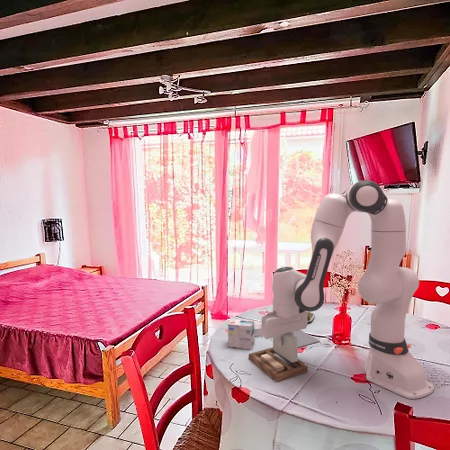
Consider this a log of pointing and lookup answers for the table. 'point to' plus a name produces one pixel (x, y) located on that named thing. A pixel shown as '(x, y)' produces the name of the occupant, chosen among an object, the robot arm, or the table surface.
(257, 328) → the ramekin
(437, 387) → the table surface
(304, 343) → the grey rubber mat
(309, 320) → the salad plate
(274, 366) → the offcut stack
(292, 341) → the upright cream panel
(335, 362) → the table surface
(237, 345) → the light bulb box
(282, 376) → the walnut rack
